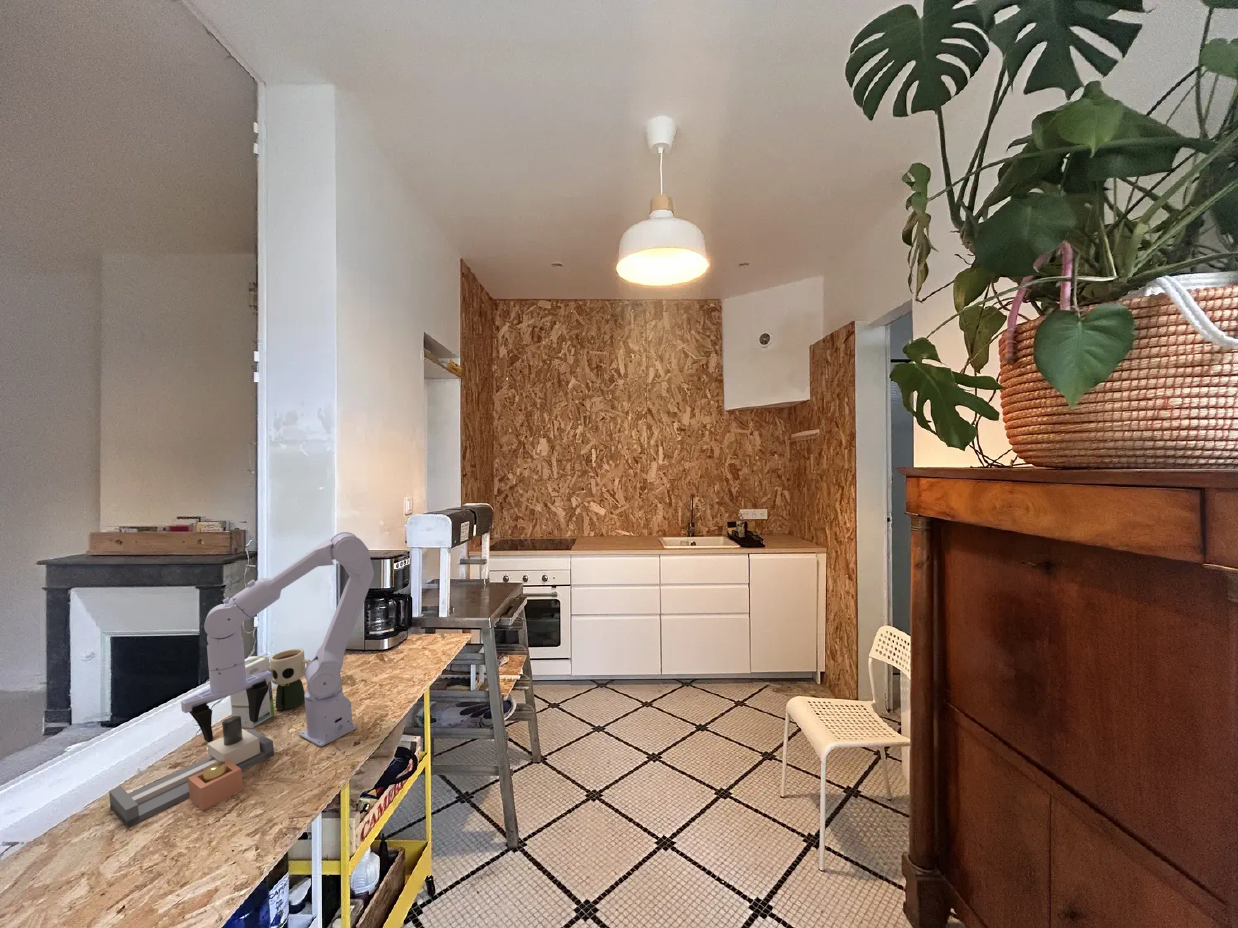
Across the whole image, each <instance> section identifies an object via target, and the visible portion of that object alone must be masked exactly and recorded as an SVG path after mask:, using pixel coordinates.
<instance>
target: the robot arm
mask: <svg viewBox="0 0 1238 928" xmlns="http://www.w3.org/2000/svg"><path fill="white" fill-rule="evenodd" d="M334 560H335V561H336V562H338V563H339V564H340V565H341V566H342V567H343V568H344V570H345V571H346V573H347V575H348V579H347V581H346V584H345V586H344V588H343V592H342V593H341V596H340V599H339V601H338V604H337V607H336V609H335V611H334V614H333V617H332V619H331V620H330V624H329V627H328V629H327V632H326V634H325V636H324V639H323V641H322V644H321V645H320V646H319V648H318V649H317V651H316V653H315V655H314V657H313V658H312V660H311V659H310V660H311V661H310V662H309V663H308V665H307V664H306V665H305V673H304V674H305V675H304V678H305V680H306V691H305V695H304V697H305V700H304V708H305V720H306V729H305V730H303V731H300V732H299V733H298V735H299V736H300V737H302V738H303V739H305V740H307V741H309V742H311V743H313V744H314V745H316V746H318V747H324V746H325V745H327V744H330V743H331V742H333V741H335V740H337V739H339V738H340V737H342V736H345V735H346V734H349V733H351V732H353V731H354V730H356V729H357V728H358V726H357V725H356V724H354V723H353V713H352V712H353V711H352V702H351V701H350V699H349V698H348V697H347V696H345V694H344V691H343V684H342V678H341V677H342V675H341V671H342V668H343V665H344V658H345V651H346V648H347V646H348V644H349V641H350V638H351V637H352V633H353V631H354V628H355V626H356V624H357V621H358V619H359V616H360V613H361V610H362V607H363V605H364V602H365V600H366V597H367V596H368V592H369V589H370V587H371V584H372V582H373V580H374V576H375V572H374V567H373V563H372V561H371V555H370V550H369V548H368V547H367V545H366V544H365V543H364V541H362V539H361V538H360V537H357V535H355V534H353V533H352V532H348V531H342V532H339V533H336V534H335V535H333V536H332V537H331V539H330V538H328V539H326V540H324V541H322V542H320V543H318V544H317V545H316V546H315V547H313V548H311V549H309V551H307V552H306V553H305V554H303V555H302V556H300V557H299V558H297V559H296V560H295V561H294V562H292V563H290V564H289V565H288V566H287V567H285V568H284V569H282V570H280V572H278V573H277V574H276V575H274V576H273V577H269V578H267V577H260V578H259V579H257V580H256V581H255V579H251V580H250V581H249V582H247V586H246V587H244V588H243V589H242V590H241V591H239V592H237V593H236V594H234V595H233V596H231V597H229V596H227V597H226V598H225V599H223V601H222V602H223V603H220V604H218V605H217V604H216V606H214V607H213V608H211V609H210V610H209V611H208V613H207V615H206V618H205V621H204V623H203V627H204V632H205V633H206V634H207V637H206V642H207V643H208V644H207V645H206V649H207V650H206V651H207V662H208V663H207V665H208V678H209V688H208V689H205V690H204V691H201V692H199V693H197V694H195V695H194V696H191V697H188V698H186V699H184V700H181V701H180V704H181V712H183V713H185V714H190V715H191V717H192V718H193V719H194V720H195V722H196V724H197V725H198V727H199V728H200V731H201V733H202V736H203V740H204V741H206V742H207V743H210V742H212V741H214V734H213V733H214V732H213V727H212V722H213V721H212V720H213V717H212V716H213V710H212V709H211V708H210V705H209V704H211V703H214V702H216V701H219V700H221V699H224V698H227V697H230V695H232V694H235V693H238V692H240V691H243V690H246V692H247V697H248V703H249V718H250V721H252V722H253V723H255V722H258V717H259V712H260V708H261V705H262V702H263V700H264V697H265V695H266V693H267V692H268V688H269V687H268V685H267V684H266V683H268V682H270V681H271V682H272V676H271V672H269V671H264V672H261V673H257V674H254V675H250V676H246V671H245V659H246V658H245V649H244V647H245V646H244V638H243V636H242V629H241V627H242V625H243V622H245V621H249V620H252V619H253V617H255V616H256V615H258V614H260V613H261V612H262V611H264V610H265V609H266V608H268V607H269V606H271V605H272V604H274V603H275V602H276V601H278V600H280V598H281V593H282V590H284V589H285V588H286V587H288V586H290V585H291V584H293V583H294V582H296V581H298V580H299V579H301V578H302V577H303V576H306V575H307V574H308V573H310V572H311V571H313V570H314V569H316V568H318V567H326V566H327V567H328V566H334V565H335V564H334Z"/></svg>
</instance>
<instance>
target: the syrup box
mask: <svg viewBox="0 0 1238 928" xmlns="http://www.w3.org/2000/svg"><path fill="white" fill-rule="evenodd" d="M245 671H246V676H250V675H254V674H257V673H261V672H264V671H269V672H270V657H269V656H262V655H258V656H257V655H254V656H251V655H250V656H248V657H247V658H245ZM266 684H267V685H268V687H269V688H268V692H267V693H266V695H265V697H264V700H263V702H262V705H261V708H260V712H259V717H258V722H255V723H253V722H252V721H250V718H249V703H248V697H247V692H246V690H243V691H240V692H238V693H235V694H232V695H230V696H229V697H230V709H231V717H233V716H241V725H242V729H255V728H256V726H259V724H261V723H263V722H265V721H267V720H268V719H270V718H273V716H275V707H274V698H273V685H272V681H270V682H268V683H266Z"/></svg>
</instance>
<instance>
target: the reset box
mask: <svg viewBox="0 0 1238 928" xmlns="http://www.w3.org/2000/svg"><path fill="white" fill-rule="evenodd" d="M223 762H225V763H226V774H224V775H222V776H220V777H218V778H216V779H214V780H212V781H210V782H208V783H204V778H203V771H202V772H200V773H198V774H196V775H194V776H191V777H189V778H188V784H189V796H190V797H189V801H190V802H192V803H193V804H194V805H195V806H196V807H198V809H199V810H201V811H202V812H204V811H205V810H207V809H209V808H211V807H213V806H215V805H217V804H219V803H221V802H223V801H225V800H226V799H228V798H230V797H232V796H234V795H236V794H238V793H240V792H242V791H243V790H244V786H243V785H244V783H243V774H242V772H243V771H241V768H239V767H238V766H236V765H235V764H234V763H232V762H231V761H229V760H226V761H223Z"/></svg>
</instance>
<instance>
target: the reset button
mask: <svg viewBox="0 0 1238 928" xmlns="http://www.w3.org/2000/svg"><path fill="white" fill-rule="evenodd" d="M224 774H226V763H225V762H223V761H221V762H216V763H213V764H211V765H209V766H207V767H206V768H205V769H204V770H203V778H204V783H208V782H210V781H212V780H214V779H216V778H218V777H220V776H222V775H224Z"/></svg>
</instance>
